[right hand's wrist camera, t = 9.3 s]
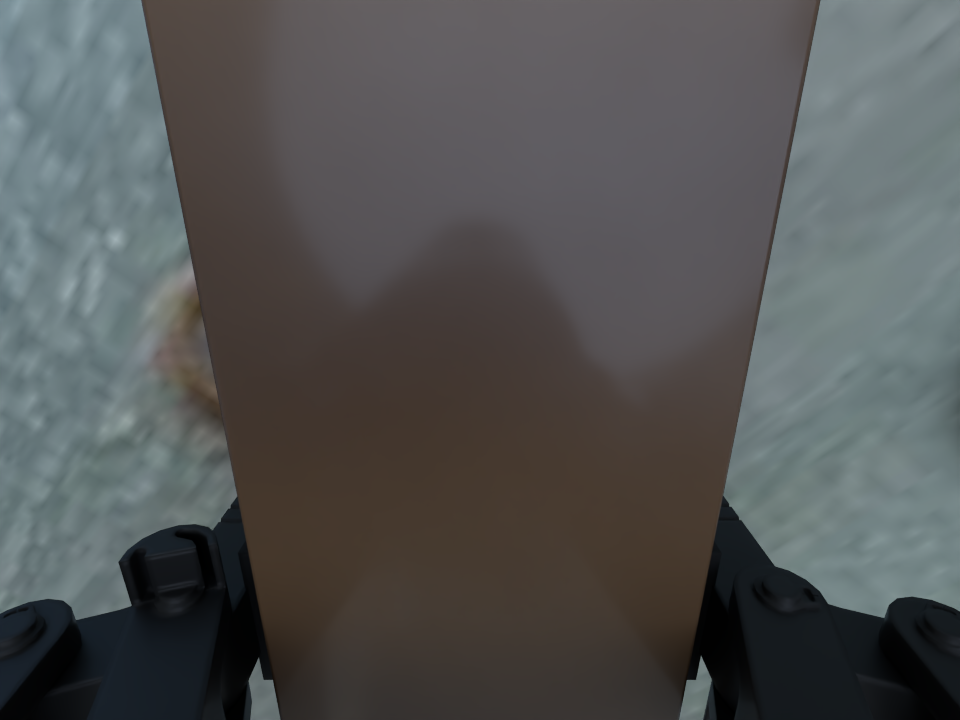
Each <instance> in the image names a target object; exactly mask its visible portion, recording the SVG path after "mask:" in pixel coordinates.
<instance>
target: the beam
mask: <svg viewBox="0 0 960 720" xmlns="http://www.w3.org/2000/svg"><path fill="white" fill-rule="evenodd" d="M141 1H142V6H143V11H144V16H145V22H146V27H147V32H148V37H149V42H150V47H151V53H152V58H153V63H154V68H155V73H156V78H157V84H158V89H159V94H160V99H161V104H162V109H163V115H164V120H165V125H166V130H167V135H168V140H169V145H170V151H171V156H172V161H173V166H174V171H175V176H176V182H177V187H178V192H179V197H180V202H181V207H182V213H183V218H184V223H185V228H186V233H187V238H188V244H189V249H190V254H191V259H192V264H193V269H194V275H195V280H196V285H197V290H198V295H199V300H200V305H201V311H202V316H203V321H204V326H205V331H206V336H207V342H208V347H209V352H210V357H211V362H212V367H213V373H214V378H215V383H216V388H217V393H218V398H219V404H220V409H221V414H222V419H223V424H224V429H225V435H226V440H227V445H228V450H229V455H230V460H231V465H232V471H233V476H234V481H235V486H236V491H237V496H238V502H239V507H240V512H241V517H242V522H243V527H244V533H245V538H246V543H247V548H248V553H249V558H250V564H251V569H252V574H253V579H254V584H255V589H256V595H257V600H258V605H259V610H260V615H261V620H262V625H263V631H264V636H265V641H266V646H267V651H268V656H269V662H270V667H271V672H272V677H273V682H274V687H275V693H276V698H277V703H278V708H279V713H280V718H281V720H679V717H680V712H681V707H682V701H683V696H684V691H685V686H686V681H687V676H688V671H689V666H690V661H691V656H692V651H693V645H694V640H695V635H696V630H697V625H698V620H699V615H700V610H701V605H702V600H703V595H704V590H705V584H706V579H707V574H708V569H709V564H710V559H711V554H712V549H713V544H714V539H715V534H716V529H717V523H718V518H719V513H720V508H721V503H722V498H723V493H724V488H725V483H726V478H727V473H728V467H729V462H730V457H731V452H732V447H733V442H734V437H735V432H736V427H737V422H738V417H739V412H740V406H741V401H742V396H743V391H744V386H745V381H746V376H747V371H748V366H749V361H750V356H751V351H752V345H753V340H754V335H755V330H756V325H757V320H758V315H759V310H760V305H761V300H762V295H763V289H764V284H765V279H766V274H767V269H768V264H769V259H770V254H771V249H772V244H773V239H774V234H775V228H776V223H777V218H778V213H779V208H780V203H781V198H782V193H783V188H784V183H785V178H786V173H787V167H788V162H789V157H790V152H791V147H792V142H793V137H794V132H795V127H796V122H797V117H798V111H799V106H800V101H801V96H802V91H803V86H804V81H805V76H806V71H807V66H808V61H809V56H810V50H811V45H812V40H813V35H814V30H815V25H816V20H817V15H818V10H819V5H820V0H141Z"/></svg>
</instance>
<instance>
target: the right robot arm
mask: <svg viewBox="0 0 960 720" xmlns="http://www.w3.org/2000/svg"><path fill="white" fill-rule="evenodd" d="M119 565H120V569H121V572H122V575H123V578H124V582H125V585H126V588H127V591H128V594H129V598H130V601H131V604H132V606H131V607H128V608H125V609H121V610H118V611H113V612H109V613H105V614H101V615H97V616H92V617H88V618H84V619H80V620H76V619H75V616H74V614H73V611H72V608H71V607H70V606H69V605H68V604H66V603H65V602H64V601H61V600H53V599H45V600H39V601H34V602H28V603H26V604H23V605H20V606H18V607H15V608H12V609H9V610H7V611H5V612H3V613H1V614H0V720H250V715H251V705H252V699H251V692H250V687H249V682H248V680H249V678H250V676H251V673H252V671H253V669H254V667H255V664H256V662H257V660H258V658H259V659H260V664H261V669H262V674H263V679H264V680H273V677H272V672H271V667H270V662H269V656H268V651H267V646H266V641H265V636H264V631H263V625H262V620H261V615H260V610H259V605H258V600H257V595H256V589H255V584H254V579H253V574H252V569H251V564H250V558H249V553H248V548H247V543H246V538H245V533H244V527H243V522H242V517H241V512H240V507H239V502H238V496H237V498H236V499H235V500H234V502H233V503H232V505H231V508H230V509H228V510H227V511H226V513H225V514H224V516H223V517H222V518H221V522H218V524H217V525H216V527H215V528H214V529H213V531H212V530H211V529H210V528H209V527H205V526H201V525H196V524H192V525H178V526H174V527H171V528H167V529H164V530H160V531H158V532H156V533H154V534H152V535H150V536H147V537H145V538H143V539H142V540H140V541H139V542H138V543H136V544H135V545H134V546H132V547H131V548H130V549H128V550H127V551H126V553H125V554H124V555H123V557H122V558H121V559H120V561H119ZM701 656H702V658H703V661H704V663H705V665H706V667H707V669H708V672H709V674H710V676H711V678H712V682H711V687H710V691H709V696H708V700H707V705H706V709H705V714H704V719H703V720H960V611H958V610H956V609H954V608H952V607H949V606H947V605H944V604H941V603H938V602H936V601H933V600H929V599H923V598H917V597H905V598H897V599H896V600H895V601H893V602H892V603H891V604H890V605H889V607H888V609H887V612H886V615H885V618H881V617H877V616H873V615H868V614H864V613H860V612H856V611H851V610H847V609H843V608H839V607H836V606H833V605H829V604H828V603H827V602H826V600H825V599H824V597H823V596H822V594H821V593H820V591H818V590H817V589H816V588H815V587H814V586H813V585H811V584H810V583H809V582H808V581H807V580H805V579H803V578H802V577H800V576H798V575H796V574H794V573H792V572H790V571H788V570H785V569H782V568H778V567H775V566H774V564H773V563H772V562H771V560H770V559H769V558H768V556H767V555H766V554H765V552H764V551H763V549H762V548H761V547H760V545H759V544H758V543H757V541H756V540H755V539H754V537H753V536H752V534H751V533H750V532H749V530H748V529H747V528H746V526H745V525H744V524H743V522H742V521H741V520H739V517H738V515H737V514H736V513H735V511H734V510H733V509H732V507H729V503H728V502H727V500H726V499H725V498H724V496H723V498H722V503H721V508H720V513H719V518H718V523H717V529H716V534H715V539H714V544H713V549H712V554H711V559H710V564H709V569H708V574H707V579H706V584H705V590H704V595H703V600H702V605H701V610H700V615H699V620H698V625H697V630H696V635H695V640H694V645H693V651H692V656H691V661H690V666H689V671H688V676H687V680H696V677H697V672H698V667H699V662H700V657H701Z"/></svg>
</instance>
